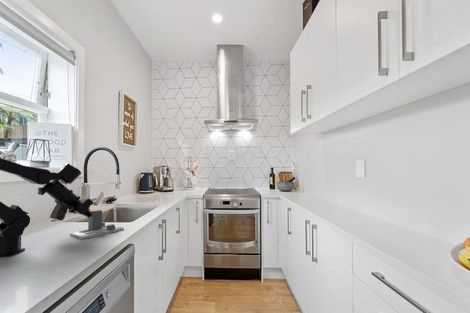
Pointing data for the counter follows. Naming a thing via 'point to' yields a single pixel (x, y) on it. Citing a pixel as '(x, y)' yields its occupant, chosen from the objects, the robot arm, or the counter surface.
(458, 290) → the counter surface
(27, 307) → the counter surface
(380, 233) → the counter surface
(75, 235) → the breaker panel
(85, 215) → the robot arm
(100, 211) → the handle
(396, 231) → the counter surface
